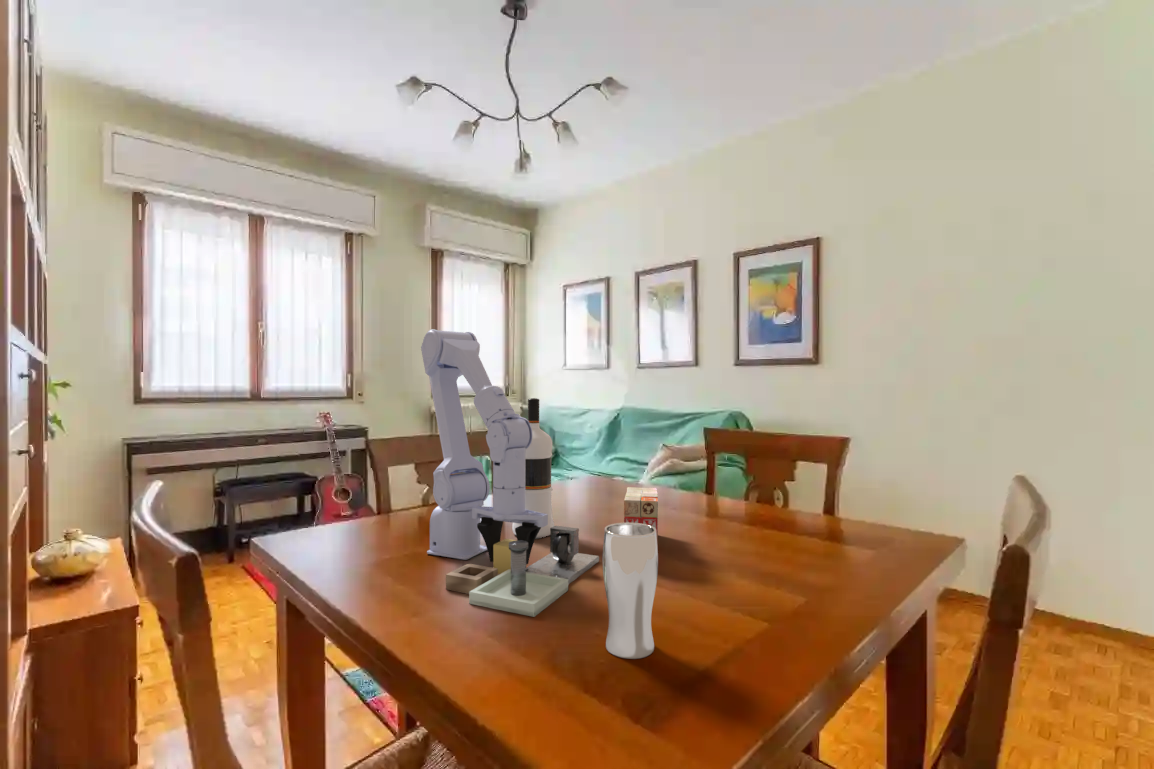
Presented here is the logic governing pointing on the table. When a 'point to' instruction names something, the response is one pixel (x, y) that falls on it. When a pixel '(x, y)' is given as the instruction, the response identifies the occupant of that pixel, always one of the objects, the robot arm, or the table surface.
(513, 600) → the tray
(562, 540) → the trolley wheel
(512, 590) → the pin
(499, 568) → the pale yellow cube
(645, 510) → the stack of blocks
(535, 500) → the vodka
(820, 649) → the table surface
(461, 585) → the socket
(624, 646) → the beer glass
